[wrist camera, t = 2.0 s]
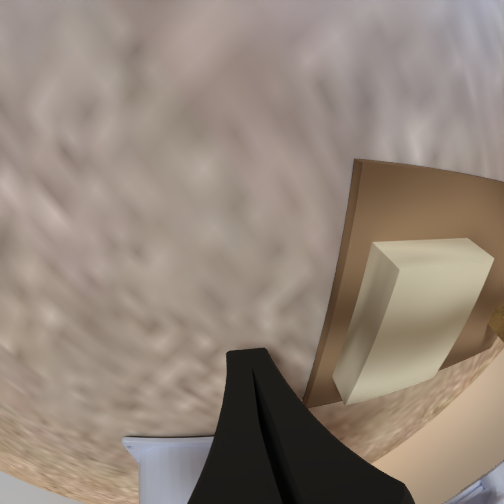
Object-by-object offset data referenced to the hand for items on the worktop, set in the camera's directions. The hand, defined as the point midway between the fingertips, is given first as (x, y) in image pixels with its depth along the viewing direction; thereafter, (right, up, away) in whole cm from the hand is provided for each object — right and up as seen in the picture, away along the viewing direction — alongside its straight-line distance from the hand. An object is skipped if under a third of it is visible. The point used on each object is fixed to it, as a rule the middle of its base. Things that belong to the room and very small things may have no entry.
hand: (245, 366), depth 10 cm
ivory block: (+8, +1, +3) cm, 8 cm away
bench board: (+12, +2, +4) cm, 13 cm away
